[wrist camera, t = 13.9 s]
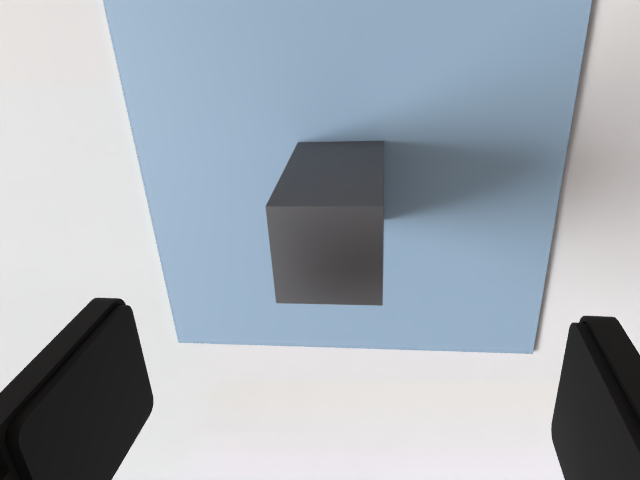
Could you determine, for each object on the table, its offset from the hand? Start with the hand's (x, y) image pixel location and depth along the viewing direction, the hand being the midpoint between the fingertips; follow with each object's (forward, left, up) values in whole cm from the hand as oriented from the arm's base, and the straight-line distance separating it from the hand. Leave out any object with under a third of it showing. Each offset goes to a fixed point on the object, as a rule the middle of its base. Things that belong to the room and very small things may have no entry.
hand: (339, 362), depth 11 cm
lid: (+1, -1, -10) cm, 10 cm away
